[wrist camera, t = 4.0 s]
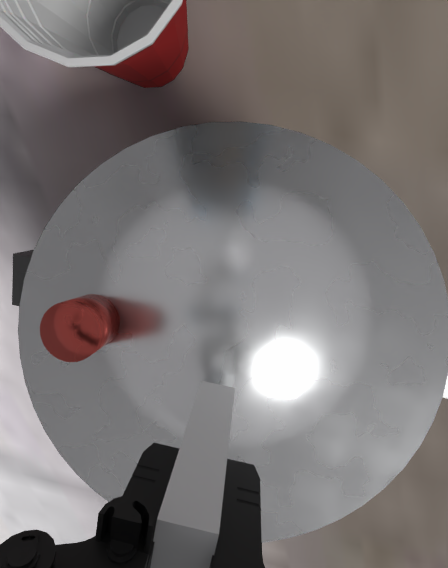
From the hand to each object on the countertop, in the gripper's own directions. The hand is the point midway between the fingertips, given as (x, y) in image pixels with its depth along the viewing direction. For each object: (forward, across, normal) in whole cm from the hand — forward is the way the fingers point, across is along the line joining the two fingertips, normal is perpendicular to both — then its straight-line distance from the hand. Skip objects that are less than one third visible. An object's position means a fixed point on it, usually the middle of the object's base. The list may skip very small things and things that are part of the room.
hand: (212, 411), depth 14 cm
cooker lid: (+2, 0, +1) cm, 2 cm away
